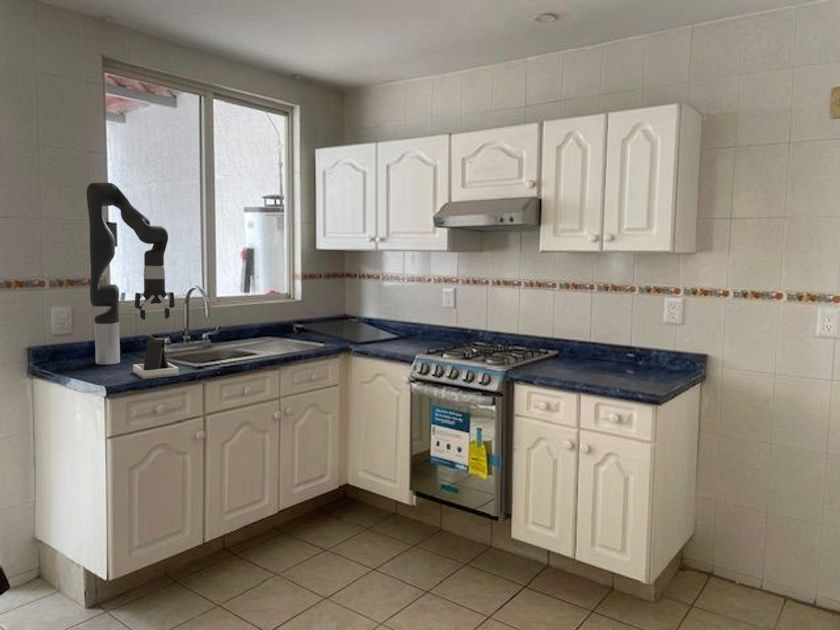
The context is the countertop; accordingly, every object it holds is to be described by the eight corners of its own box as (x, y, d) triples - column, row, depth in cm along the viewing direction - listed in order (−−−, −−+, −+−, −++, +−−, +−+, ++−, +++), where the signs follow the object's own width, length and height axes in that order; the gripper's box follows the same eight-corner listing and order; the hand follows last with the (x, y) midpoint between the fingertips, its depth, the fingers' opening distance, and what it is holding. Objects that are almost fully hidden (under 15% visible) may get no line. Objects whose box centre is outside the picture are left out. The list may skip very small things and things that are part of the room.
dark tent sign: (154, 368, 256) (153, 339, 255) (168, 369, 256) (168, 339, 254) (142, 373, 247) (142, 342, 246) (157, 373, 247) (157, 343, 245)
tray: (133, 372, 253) (133, 364, 253) (167, 369, 261) (167, 361, 261) (143, 378, 242) (143, 371, 241) (178, 375, 250) (178, 367, 249)
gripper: (137, 278, 240) (138, 321, 242) (176, 277, 249) (176, 319, 251) (132, 277, 246) (133, 318, 248) (170, 276, 255) (170, 317, 257)
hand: (155, 319), depth 249 cm, fingers open, 8 cm apart
